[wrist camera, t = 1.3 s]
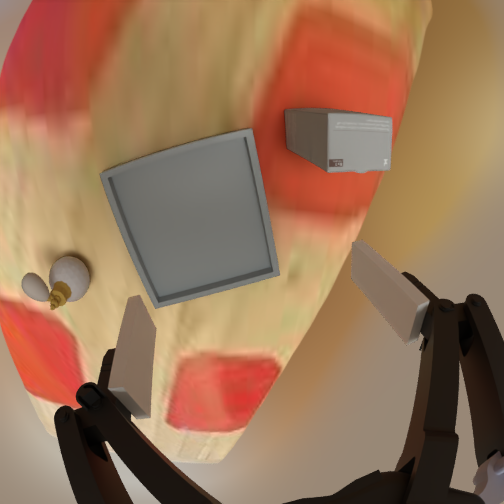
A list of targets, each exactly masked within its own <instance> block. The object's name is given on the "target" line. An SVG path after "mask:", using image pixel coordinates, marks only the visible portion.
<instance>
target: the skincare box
mask: <svg viewBox="0 0 504 504" xmlns="http://www.w3.org/2000/svg"><path fill="white" fill-rule="evenodd" d="M284 113H285V127H286V146H287V149H289V150H290V151H292V152H294V153H296V154H298V155H299V156H301V157H303V158H305V159H306V160H308V161H310V162H312V163H313V164H315V165H316V166H318V167H320V168H321V169H323V170H325V171H326V172H328V173H331V172H351V171H355V172H357V173H365V172H367V171H388V170H390V166H391V143H392V118H391V117H386V116H380V115H374V114H367V113H361V112H353V111H346V110H338V109H328V108H295V109H285V111H284Z"/></svg>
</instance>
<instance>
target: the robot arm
mask: <svg viewBox="0 0 504 504" xmlns="http://www.w3.org/2000/svg"><path fill="white" fill-rule="evenodd" d="M351 279H352V280H353V281H354V283H355V284H356V285H357V286H358V287H359V288H360V289H361V291H362V292H363V293H364V294H365V295H366V297H367V298H368V299H369V300H370V301H371V302H372V304H373V305H374V306H375V307H376V308H377V310H378V311H379V312H380V313H381V315H382V316H383V317H384V318H385V319H386V321H387V322H388V323H389V324H390V326H392V328H393V329H394V330H395V332H396V333H397V334H398V335H399V337H400V338H401V339H402V340H403V342H404V343H405V344H406V345H409V344H411V343H413V342H415V341H417V340H418V337H419V334H420V332H421V334H422V335H423V336H424V338H423V341H422V344H421V346H420V349H419V350H421V349H422V353H421V363H420V370H419V377H418V385H417V390H416V396H415V402H414V407H413V413H412V417H411V422H410V426H409V430H408V434H407V438H406V442H405V446H404V450H403V453H402V455H401V457H400V459H399V461H398V463H397V466H396V468H395V471H388V472H381V473H380V471H379V470H377V471H374V472H372V473H370V474H368V475H366V476H363V477H361V478H359V479H356V480H355V481H353V482H352V483H350V484H349V485H347V486H346V487H344V488H343V489H341V490H340V491H338V492H337V493H335V494H333V495H330V496H323V497H314V498H302V499H299V500H295V501H291V502H287V503H283V504H500V503H501V502H503V501H504V341H503V338H502V336H501V333H500V332H499V329H498V327H497V324H496V322H495V320H494V318H493V315H492V313H491V311H490V309H489V307H488V305H487V303H486V301H485V300H484V298H483V297H481V296H480V295H477V294H469V295H468V296H467V298H466V301H465V302H464V303H458V304H454V303H453V302H452V301H450V300H448V299H439V298H437V297H436V296H435V295H434V294H433V293H432V292H431V291H430V290H429V289H428V288H426V286H424V285H423V284H422V283H421V282H419V280H418V279H417V278H416V277H415V276H413V275H411V274H409V273H407V272H403V273H400V272H399V271H398V270H397V269H395V268H394V267H393V266H392V265H391V264H390V263H389V262H387V261H386V260H385V259H384V258H383V257H382V256H381V255H380V254H379V253H377V252H376V251H375V250H374V249H373V248H372V247H370V246H369V245H368V244H367V243H365V242H364V241H363V240H359V241H355V242H352V269H351ZM155 337H156V327H155V325H154V323H153V321H152V319H151V317H150V315H149V313H148V311H147V309H146V307H145V305H144V303H143V301H142V298H141V296H140V295H138V296H133V297H129V298H128V301H127V305H126V309H125V312H124V316H123V320H122V324H121V328H120V332H119V336H118V341H117V345H116V348H114V349H108V351H107V352H106V354H105V356H104V357H103V362H102V366H101V370H100V371H101V372H100V375H99V379H98V384H97V385H96V384H95V383H93V382H88V383H85V384H83V385H82V386H81V387H80V388H79V389H78V391H77V393H76V400H77V402H78V403H79V404H80V405H81V406H82V408H79V409H76V410H73V409H72V408H71V407H70V406H66V405H65V406H62V407H60V408H59V409H58V410H57V411H56V413H55V416H54V423H55V428H56V433H57V437H58V441H59V446H60V449H61V454H62V458H63V461H64V465H65V468H66V472H67V475H68V478H69V481H70V484H71V487H72V490H73V493H74V495H75V498H76V501H77V503H78V504H133V502H132V500H131V498H130V496H129V494H128V492H127V491H126V489H125V487H124V485H123V483H122V481H121V479H120V476H119V474H118V472H117V470H116V468H115V466H114V463H113V461H112V459H111V456H110V454H109V451H108V449H107V446H106V444H105V441H108V443H109V444H110V446H111V447H112V448H113V450H114V451H115V452H116V453H117V455H118V456H119V457H120V458H121V460H122V461H123V462H124V463H125V464H126V466H127V467H128V468H129V469H130V471H131V472H132V473H133V474H134V475H135V476H136V477H137V478H138V480H139V481H140V482H141V483H142V484H143V485H144V486H145V487H146V488H147V490H149V492H150V493H151V494H152V495H153V496H154V497H155V498H156V499H157V500H158V501H159V502H160V503H161V504H222V503H220V502H219V501H218V500H216V499H215V498H214V497H212V496H211V495H210V494H208V493H207V492H206V491H205V490H203V489H202V488H201V487H200V486H198V485H197V484H196V483H195V482H194V481H192V480H191V479H190V478H189V477H188V476H186V475H185V474H184V473H183V472H182V471H181V470H180V469H178V468H177V467H176V466H175V465H174V464H173V463H172V462H171V461H170V460H169V459H168V458H167V457H166V456H165V455H164V454H162V453H161V452H160V451H159V450H158V449H157V448H156V447H155V446H154V445H153V444H152V443H151V441H150V440H149V439H148V438H147V437H146V436H145V435H144V434H143V433H142V432H141V431H140V430H139V429H138V428H137V426H136V425H135V424H134V423H133V422H132V421H131V414H132V415H133V416H134V417H135V418H136V419H145V418H150V417H151V390H152V373H153V360H154V348H155ZM459 360H460V364H461V368H462V372H463V377H464V381H465V386H466V391H467V396H468V401H469V407H470V413H471V420H472V427H473V436H474V446H475V454H476V459H477V464H478V467H479V468H478V470H477V472H476V475H475V477H474V479H473V483H474V485H476V487H475V491H474V493H469V492H465V491H461V490H457V489H454V488H450V487H449V486H450V482H451V478H452V474H453V469H454V464H455V460H456V453H457V448H458V441H459V437H458V435H457V434H456V433H455V424H456V415H457V405H458V391H459Z"/></svg>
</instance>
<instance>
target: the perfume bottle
mask: <svg viewBox="0 0 504 504" xmlns="http://www.w3.org/2000/svg"><path fill="white" fill-rule="evenodd" d="M89 283H90V278H89V272H88V269H87V268H86V266H85V264H84V263H83V262H82V261H80V260H79V259H77V258H75V257H72V256H65V257H62V258H60V259H59V260H57V261H56V262H55V263H54V264H53V265H52V268H51V270H50V274H49V284H50V287H51V289H52V291H51V293H49V290H48V287H47V286H46V284H45V282H44V281H43V280H42V279H41V278H40V277H39V276H38V275H37V274H35V273H27V274H26V275H25V276H24V277H23V279H22V288H23V291H24V292H25V293H26V294H27V295H28V296H29V297H30V298H32V299H34V300H37V301H41V302H44V301H50V302H51V305H50V307H51V310H54V309H55V308H57V307H58V306H63V305H64V304H65V303H66V301H67V302H74V301H77V300H79V299H80V298H82V297H83V296H84V295H85V293H86V292H87V290H88V288H89Z"/></svg>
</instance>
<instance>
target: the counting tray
mask: <svg viewBox="0 0 504 504" xmlns="http://www.w3.org/2000/svg"><path fill="white" fill-rule="evenodd" d="M100 177H101V180H102V183H103V186H104V189H105V192H106V195H107V198H108V200H109V203H110V206H111V209H112V211H113V214H114V217H115V219H116V222H117V225H118V227H119V230H120V232H121V235H122V237H123V240H124V242H125V244H126V247H127V249H128V251H129V254H130V256H131V258H132V261H133V263H134V265H135V267H136V270H137V272H138V274H139V276H140V278H141V281H142V283H143V285H144V287H145V289H146V291H147V293H148V295H149V297H150V299H151V301H152V303H153V305H154V307H155V309H156V308H160V307H164V306H168V305H172V304H176V303H180V302H184V301H188V300H192V299H196V298H199V297H203V296H207V295H211V294H214V293H218V292H222V291H226V290H229V289H233V288H237V287H240V286H244V285H247V284H251V283H255V282H258V281H262V280H265V279H269V278H272V277H276V276H279V275H280V271H279V266H278V260H277V255H276V249H275V243H274V238H273V233H272V227H271V222H270V216H269V211H268V206H267V201H266V196H265V190H264V185H263V180H262V175H261V170H260V165H259V160H258V155H257V150H256V145H255V141H254V136H253V131H252V128H246V129H241V130H236V131H232V132H227V133H223V134H219V135H215V136H211V137H207V138H203V139H199V140H196V141H192V142H188V143H185V144H181V145H178V146H175V147H171V148H168V149H165V150H162V151H158V152H155V153H152V154H149V155H146V156H143V157H140V158H137V159H135V160H132V161H129V162H126V163H123V164H121V165H118V166H115V167H113V168H110V169H108V170H105V171H103V172H102V173H100Z"/></svg>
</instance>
